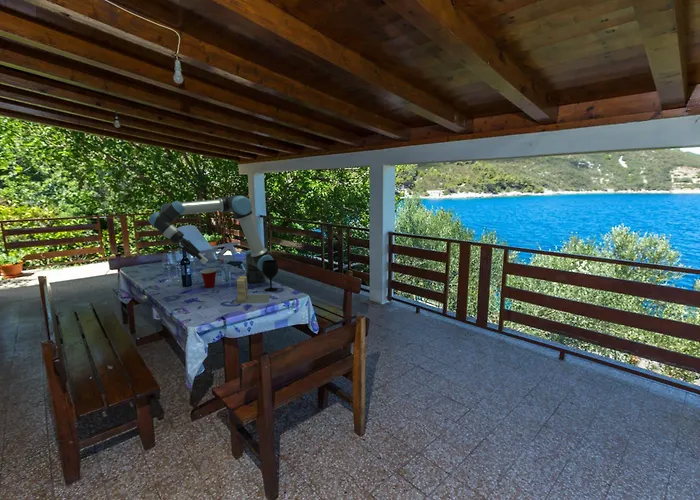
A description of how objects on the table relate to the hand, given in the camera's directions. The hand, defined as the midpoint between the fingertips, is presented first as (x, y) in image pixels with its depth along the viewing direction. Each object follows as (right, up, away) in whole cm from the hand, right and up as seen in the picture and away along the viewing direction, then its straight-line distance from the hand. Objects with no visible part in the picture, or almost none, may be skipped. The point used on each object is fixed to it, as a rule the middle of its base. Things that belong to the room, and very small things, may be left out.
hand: (206, 262), depth 204 cm
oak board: (+20, -23, +7) cm, 31 cm away
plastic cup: (-12, -18, +34) cm, 40 cm away
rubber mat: (+26, -23, +8) cm, 35 cm away
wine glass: (+33, -20, +26) cm, 46 cm away
